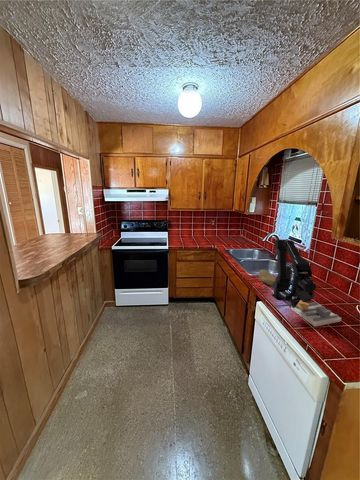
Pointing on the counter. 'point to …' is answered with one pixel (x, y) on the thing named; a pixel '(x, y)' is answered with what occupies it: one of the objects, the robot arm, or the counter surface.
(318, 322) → the console
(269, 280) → the sponge
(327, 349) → the counter surface
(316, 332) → the counter surface
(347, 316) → the counter surface
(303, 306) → the fader orange
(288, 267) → the supplement bottle
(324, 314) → the fader grey
